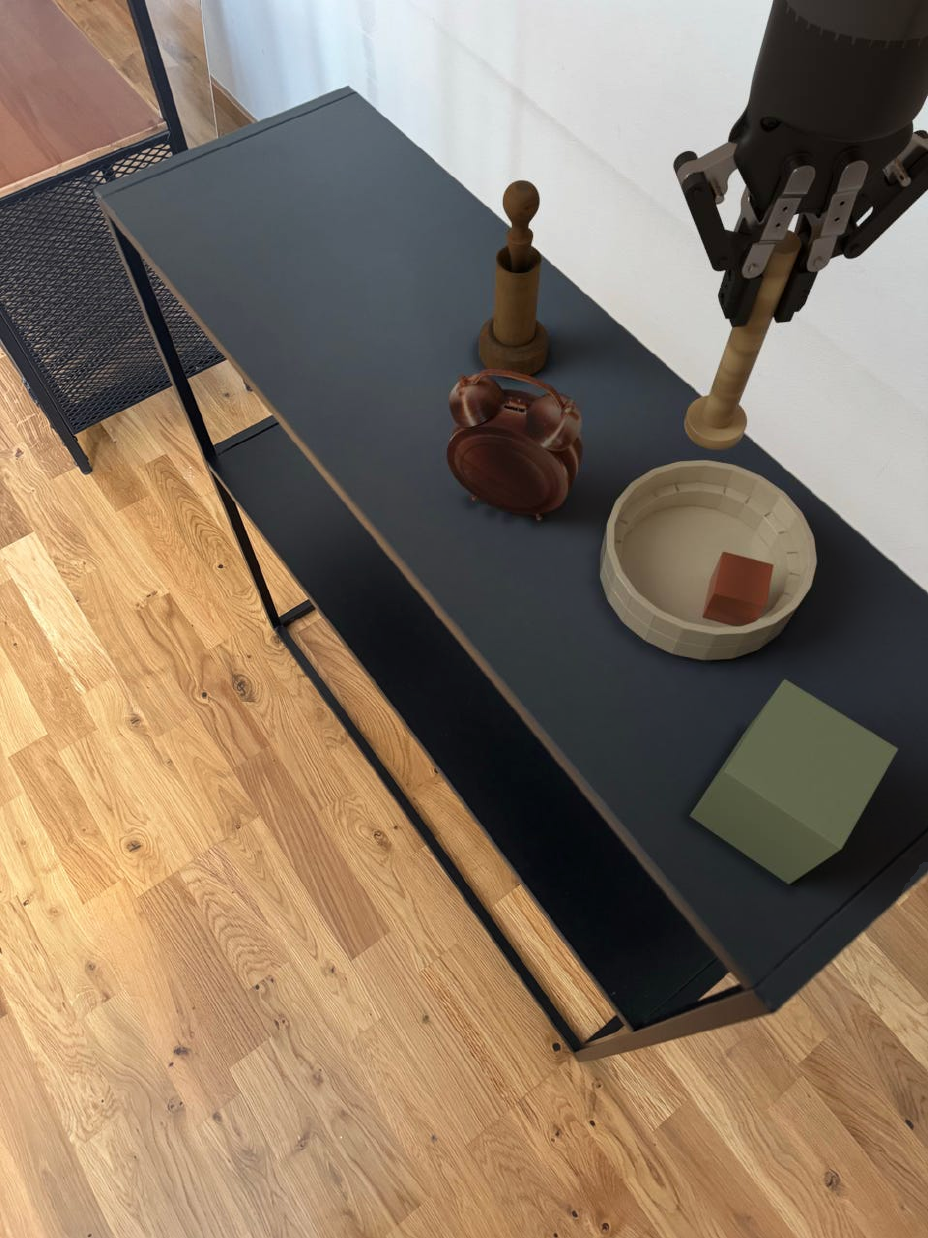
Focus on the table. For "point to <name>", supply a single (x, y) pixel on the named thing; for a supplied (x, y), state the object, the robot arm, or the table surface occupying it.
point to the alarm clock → (514, 443)
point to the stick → (741, 358)
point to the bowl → (702, 555)
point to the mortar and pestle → (516, 292)
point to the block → (737, 590)
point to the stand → (794, 784)
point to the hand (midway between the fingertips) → (756, 313)
